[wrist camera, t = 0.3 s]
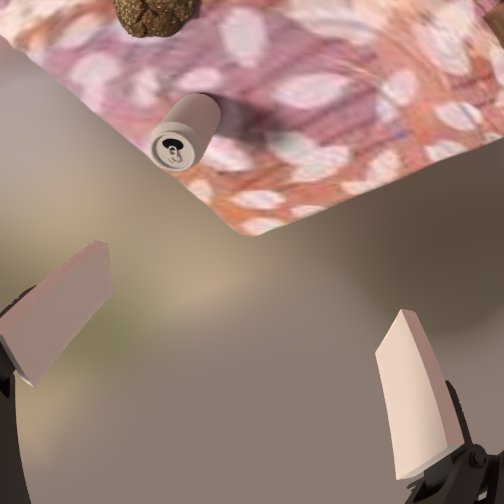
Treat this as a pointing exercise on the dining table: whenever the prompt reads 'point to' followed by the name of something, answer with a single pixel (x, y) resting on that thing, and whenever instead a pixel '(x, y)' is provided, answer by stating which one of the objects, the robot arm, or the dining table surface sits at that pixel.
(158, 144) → the can
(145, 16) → the bread roll
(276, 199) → the dining table surface
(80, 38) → the dining table surface
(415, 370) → the robot arm
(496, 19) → the peg stand
